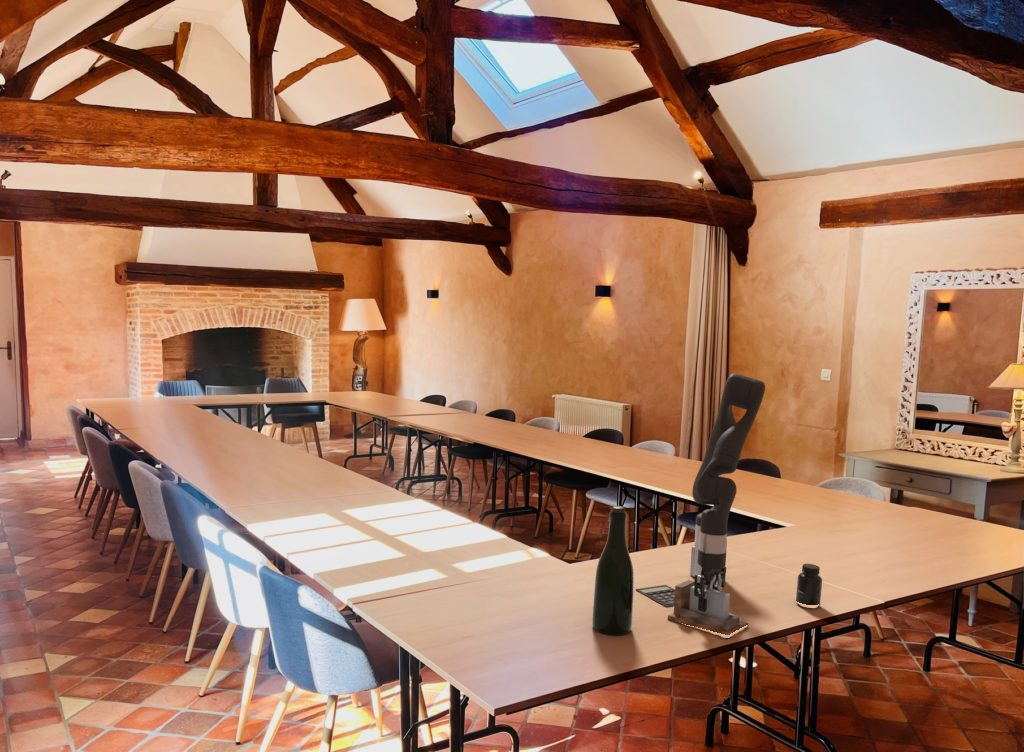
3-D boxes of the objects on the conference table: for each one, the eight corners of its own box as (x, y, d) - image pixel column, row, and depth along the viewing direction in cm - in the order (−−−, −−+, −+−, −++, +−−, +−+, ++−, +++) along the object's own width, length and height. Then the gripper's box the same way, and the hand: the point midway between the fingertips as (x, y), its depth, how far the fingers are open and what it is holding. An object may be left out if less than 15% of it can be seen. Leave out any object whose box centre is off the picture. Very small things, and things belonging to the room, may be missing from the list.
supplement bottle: (792, 605, 230) (795, 565, 229) (799, 599, 235) (802, 560, 234) (816, 611, 226) (819, 571, 225) (823, 605, 231) (826, 566, 230)
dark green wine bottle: (627, 621, 212) (634, 502, 209) (634, 637, 201) (642, 512, 199) (589, 620, 211) (595, 501, 209) (594, 635, 201) (601, 511, 198)
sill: (667, 619, 214) (669, 587, 214) (688, 608, 223) (690, 577, 223) (727, 639, 202) (730, 605, 202) (747, 627, 211) (750, 594, 211)
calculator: (666, 605, 224) (635, 588, 237) (665, 608, 224) (634, 591, 237) (697, 600, 229) (665, 584, 242) (697, 603, 229) (665, 587, 242)
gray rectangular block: (688, 615, 215) (690, 587, 214) (695, 612, 217) (696, 584, 217) (722, 626, 208) (724, 597, 208) (728, 622, 211) (730, 594, 210)
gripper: (712, 540, 219) (708, 597, 220) (687, 550, 208) (683, 610, 210) (736, 546, 214) (733, 604, 215) (712, 557, 203) (708, 618, 205)
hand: (708, 607), depth 213 cm, fingers open, 7 cm apart
